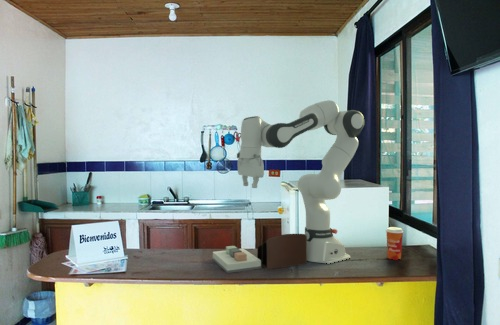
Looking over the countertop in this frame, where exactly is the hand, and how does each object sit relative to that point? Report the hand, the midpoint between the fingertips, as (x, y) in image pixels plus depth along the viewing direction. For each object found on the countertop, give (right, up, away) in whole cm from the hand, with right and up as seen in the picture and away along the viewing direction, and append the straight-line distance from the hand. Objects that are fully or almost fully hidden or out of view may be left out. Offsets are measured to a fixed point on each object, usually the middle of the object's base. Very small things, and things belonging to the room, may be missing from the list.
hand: (250, 187), depth 151 cm
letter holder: (+14, -35, +6) cm, 38 cm away
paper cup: (+67, -34, +14) cm, 77 cm away
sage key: (-8, -31, +10) cm, 34 cm away
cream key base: (-6, -34, +5) cm, 35 cm away
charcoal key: (-6, -31, +5) cm, 32 cm away
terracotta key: (-4, -31, 0) cm, 32 cm away
